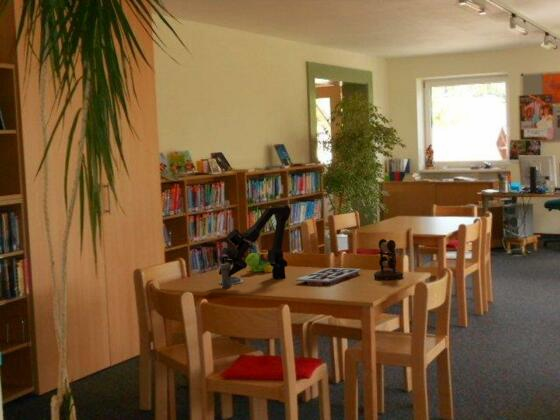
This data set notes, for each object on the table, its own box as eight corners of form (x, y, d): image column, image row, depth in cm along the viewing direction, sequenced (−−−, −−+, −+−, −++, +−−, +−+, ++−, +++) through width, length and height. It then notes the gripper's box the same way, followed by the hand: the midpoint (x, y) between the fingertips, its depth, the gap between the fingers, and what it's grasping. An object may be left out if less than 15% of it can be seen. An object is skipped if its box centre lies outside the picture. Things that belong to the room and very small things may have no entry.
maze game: (329, 273, 432) (329, 267, 432) (361, 275, 421) (361, 269, 421) (295, 285, 403) (295, 279, 403) (328, 287, 392) (328, 280, 392)
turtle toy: (237, 273, 448) (236, 253, 447) (264, 267, 466) (263, 247, 465) (260, 275, 438) (258, 254, 437) (286, 268, 455) (285, 248, 454)
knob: (232, 286, 409) (230, 262, 408) (232, 288, 403) (230, 264, 402) (222, 287, 408) (220, 263, 407) (222, 288, 403) (220, 265, 402)
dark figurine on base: (409, 277, 402) (407, 238, 401) (386, 281, 395) (384, 242, 393) (390, 274, 415) (388, 236, 413) (368, 278, 407) (366, 240, 406)
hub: (243, 279, 427) (243, 275, 427) (243, 283, 414) (243, 279, 414) (219, 281, 426) (219, 277, 426) (218, 285, 413) (218, 281, 413)
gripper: (220, 240, 414) (204, 264, 408) (240, 242, 399) (223, 267, 393) (234, 253, 419) (218, 276, 414) (254, 256, 404) (237, 280, 399)
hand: (224, 275), depth 405 cm, fingers open, 8 cm apart
